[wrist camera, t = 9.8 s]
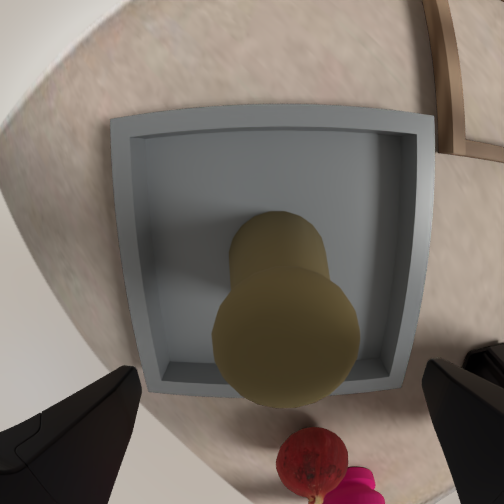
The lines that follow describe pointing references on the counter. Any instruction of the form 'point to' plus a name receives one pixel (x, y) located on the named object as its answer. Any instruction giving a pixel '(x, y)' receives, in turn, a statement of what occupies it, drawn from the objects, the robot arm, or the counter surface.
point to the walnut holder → (451, 87)
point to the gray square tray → (264, 200)
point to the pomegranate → (312, 463)
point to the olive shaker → (283, 316)
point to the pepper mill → (355, 489)
